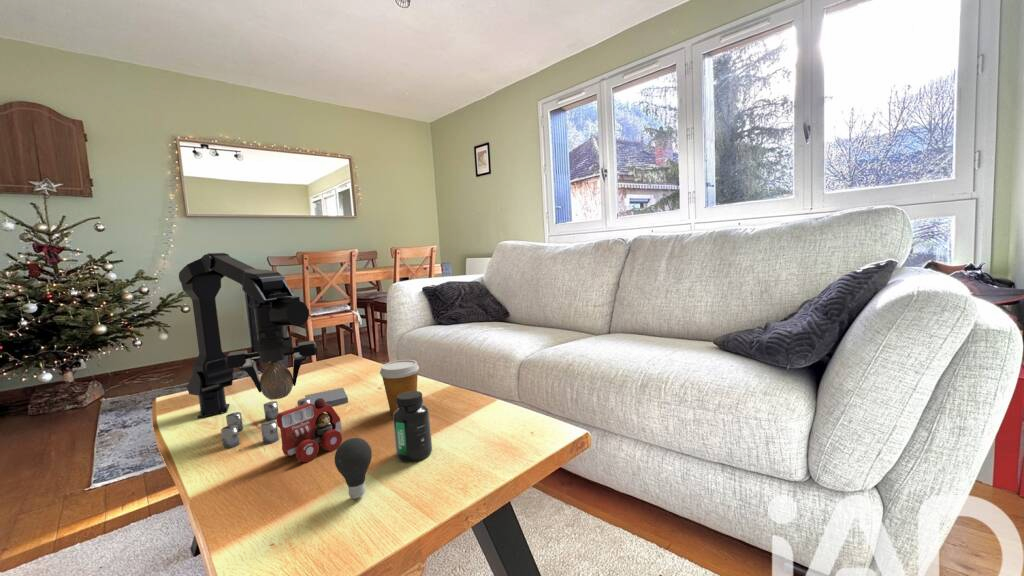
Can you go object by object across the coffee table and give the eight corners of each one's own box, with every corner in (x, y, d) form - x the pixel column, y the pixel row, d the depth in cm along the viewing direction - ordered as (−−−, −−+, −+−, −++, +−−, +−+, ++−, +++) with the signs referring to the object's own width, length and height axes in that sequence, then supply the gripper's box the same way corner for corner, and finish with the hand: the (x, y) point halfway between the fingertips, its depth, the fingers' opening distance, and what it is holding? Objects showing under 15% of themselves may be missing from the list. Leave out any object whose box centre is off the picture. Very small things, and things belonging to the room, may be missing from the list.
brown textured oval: (300, 391, 103) (296, 357, 102) (282, 401, 96) (278, 365, 95) (274, 392, 104) (270, 357, 103) (254, 402, 97) (250, 365, 96)
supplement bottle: (402, 467, 76) (397, 404, 75) (392, 453, 82) (386, 394, 81) (437, 455, 80) (432, 395, 79) (425, 442, 86) (420, 386, 84)
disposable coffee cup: (430, 407, 105) (426, 361, 104) (402, 421, 97) (397, 372, 96) (404, 401, 110) (400, 357, 109) (375, 415, 102) (370, 367, 101)
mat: (305, 400, 116) (305, 395, 116) (343, 392, 121) (342, 387, 121) (307, 411, 108) (306, 406, 107) (348, 402, 112) (347, 397, 112)
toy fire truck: (351, 442, 88) (346, 395, 87) (292, 470, 78) (286, 417, 77) (332, 435, 92) (327, 390, 91) (274, 461, 82) (268, 410, 81)
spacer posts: (230, 426, 101) (228, 410, 101) (311, 408, 110) (309, 393, 109) (220, 455, 85) (218, 437, 85) (316, 432, 94) (314, 415, 94)
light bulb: (345, 490, 70) (339, 433, 69) (379, 486, 70) (373, 430, 69) (334, 510, 64) (327, 449, 63) (370, 506, 65) (364, 445, 64)
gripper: (217, 336, 87) (226, 408, 88) (315, 324, 95) (322, 389, 97) (224, 328, 96) (232, 393, 98) (312, 318, 105) (319, 377, 107)
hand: (277, 388), depth 100 cm, fingers closed on brown textured oval, 7 cm apart
